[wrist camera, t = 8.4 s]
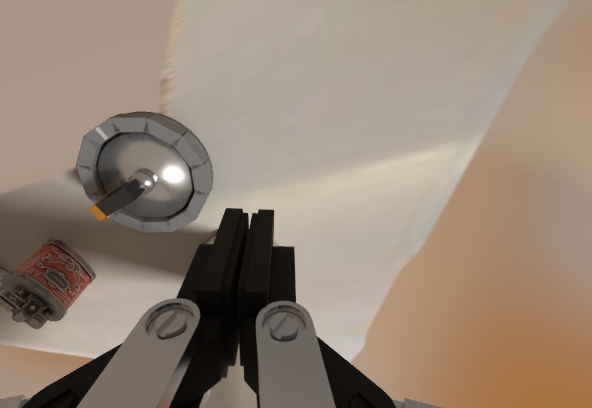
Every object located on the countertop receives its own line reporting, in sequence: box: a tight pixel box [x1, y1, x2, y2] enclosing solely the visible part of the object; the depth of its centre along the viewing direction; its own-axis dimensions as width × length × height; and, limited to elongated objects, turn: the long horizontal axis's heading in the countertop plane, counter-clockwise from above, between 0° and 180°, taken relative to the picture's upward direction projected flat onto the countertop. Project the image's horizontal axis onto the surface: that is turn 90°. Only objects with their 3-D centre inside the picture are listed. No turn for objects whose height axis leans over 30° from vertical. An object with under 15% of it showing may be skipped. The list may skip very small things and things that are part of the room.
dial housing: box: [76, 112, 213, 233], centre depth 36 cm, size 14×14×3 cm
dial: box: [88, 132, 194, 221], centre depth 34 cm, size 10×10×5 cm
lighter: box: [0, 239, 96, 329], centre depth 39 cm, size 8×3×10 cm, turn 27°
